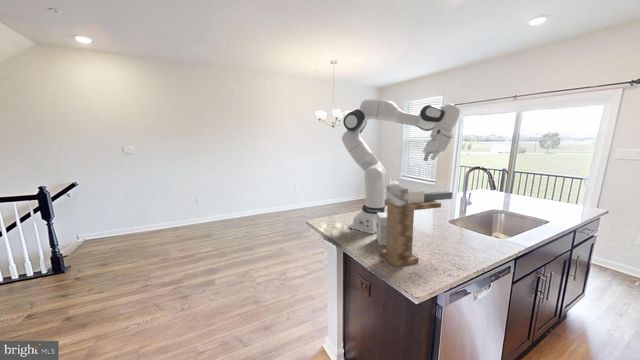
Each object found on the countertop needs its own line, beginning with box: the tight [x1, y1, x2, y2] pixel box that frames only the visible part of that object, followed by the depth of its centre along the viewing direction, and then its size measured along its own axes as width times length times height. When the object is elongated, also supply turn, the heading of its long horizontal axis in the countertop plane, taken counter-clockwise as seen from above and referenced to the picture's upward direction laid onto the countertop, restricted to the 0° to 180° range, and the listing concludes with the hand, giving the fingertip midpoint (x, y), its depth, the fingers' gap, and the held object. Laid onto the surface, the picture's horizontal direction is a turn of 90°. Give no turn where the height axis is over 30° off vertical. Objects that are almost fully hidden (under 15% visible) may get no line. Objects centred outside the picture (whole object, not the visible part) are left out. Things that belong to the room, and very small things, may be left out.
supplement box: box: [376, 212, 387, 246], centre depth 127 cm, size 9×9×15 cm
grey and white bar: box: [408, 188, 453, 204], centre depth 109 cm, size 24×5×5 cm, turn 105°
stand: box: [379, 184, 442, 268], centre depth 109 cm, size 22×12×33 cm, turn 105°
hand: (428, 160), depth 124 cm, fingers open, 8 cm apart
